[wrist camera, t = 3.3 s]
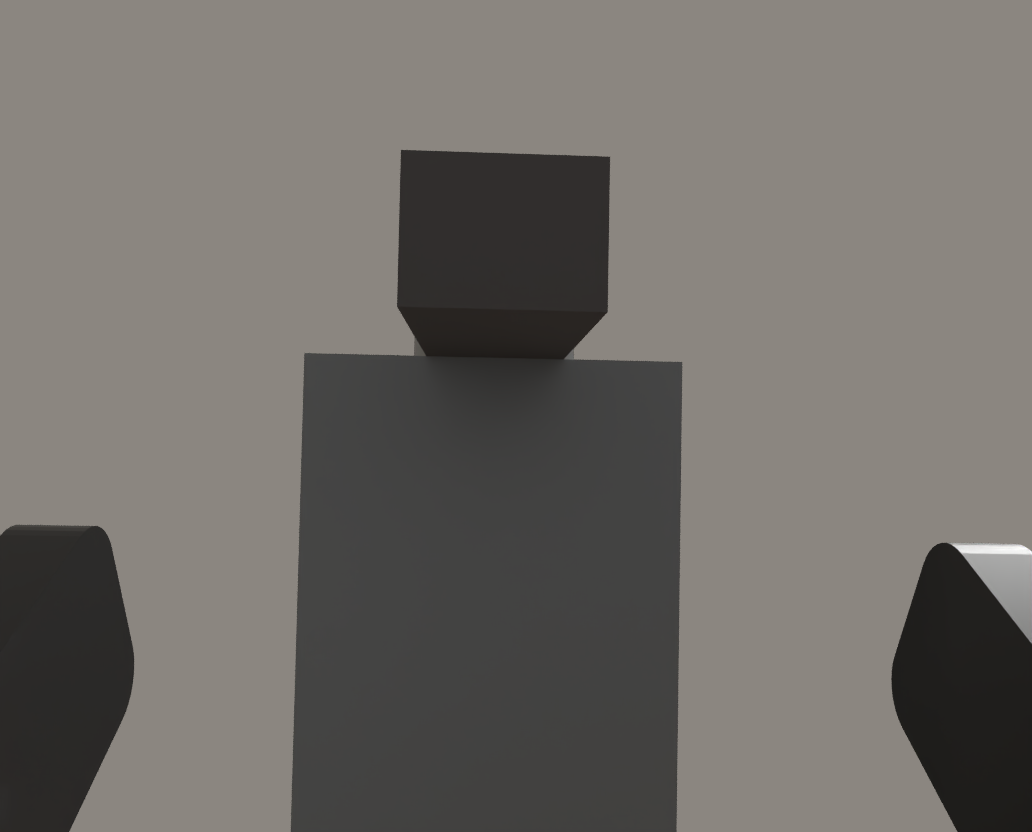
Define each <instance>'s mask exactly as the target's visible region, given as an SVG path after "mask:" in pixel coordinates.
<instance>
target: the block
mask: <svg viewBox="0 0 1032 832" xmlns="http://www.w3.org/2000/svg"><path fill="white" fill-rule="evenodd" d="M400 176H401V177H400V214H399V215H400V216H399V254H398V257H399V258H398V295H397V296H398V297H397V299H398V300H397V307H398V309H399V311H400V312H401V314H402V316H403V317H404V319H405V321H406V322H407V324H408V326H409V327H410V329H411V331H412V333H413V334H414V336H415V347H414V356H442V357H484V358H527V359H569V360H574V348H575V347H576V345H577V344H578V343H579V342H580V341H581V340H582V339H583V338H584V337H585V335H587V334H588V332H589V331H590V330H591V329H592V328H593V327H594V326H595V325H596V324H597V323H598V322H599V321H600V320H601V318H602V317H603V316H604V315H605V314H606V313H607V311H608V310H607V309H608V246H609V185H610V182H609V181H610V157H599V156H570V155H568V156H567V155H539V154H536V155H535V154H508V153H477V152H475V153H474V152H447V151H416V150H401V174H400Z"/></svg>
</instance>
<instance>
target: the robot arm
mask: <svg viewBox="0 0 1032 832" xmlns="http://www.w3.org/2000/svg"><path fill="white" fill-rule="evenodd" d="M133 675H134V653H133V646H132V641H131V636H130V632H129V627H128V623H127V617H126V613H125V608H124V604H123V599H122V594H121V589H120V585H119V580H118V575H117V570H116V565H115V561H114V556H113V551H112V547H111V543H110V540H109V538H108V536H107V534H106V532H105V531H104V530H103V529H102V528H100V527H98V526H51V525H14V526H12V527H10V528H8V529H7V530H5V531H4V532H3V534H2V535H1V536H0V832H69V831H70V829H71V826H72V824H73V822H74V820H75V818H76V816H77V814H78V812H79V809H80V808H81V805H82V803H83V801H84V799H85V797H86V795H87V793H88V791H89V789H90V787H91V784H92V782H93V780H94V778H95V776H96V774H97V772H98V770H99V768H100V765H101V763H102V761H103V759H104V757H105V755H106V753H107V751H108V749H109V747H110V744H111V742H112V740H113V738H114V736H115V734H116V732H117V730H118V728H119V726H120V724H121V721H122V719H123V717H124V714H125V712H126V709H127V706H128V703H129V699H130V695H131V690H132V684H133ZM892 694H893V700H894V705H895V709H896V712H897V716H898V719H899V721H900V723H901V726H902V728H903V730H904V732H905V733H906V735H907V737H908V739H909V741H910V743H911V745H912V747H913V749H914V750H915V752H916V754H917V756H918V758H919V760H920V762H921V764H922V766H923V767H924V769H925V771H926V773H927V775H928V777H929V779H930V781H931V782H932V784H933V786H934V788H935V790H936V792H937V794H938V796H939V798H940V800H941V802H942V803H943V805H944V807H945V809H946V811H947V813H948V815H949V817H950V819H951V820H952V822H953V824H954V826H955V828H956V830H957V831H958V832H1032V552H1031V551H1030V550H1029V549H1027V548H1026V547H1024V546H1022V545H1019V544H980V543H978V544H977V543H940V544H937V545H936V546H934V547H933V548H932V549H931V550H930V552H929V553H928V555H927V557H926V559H925V562H924V565H923V567H922V571H921V574H920V577H919V580H918V583H917V587H916V590H915V593H914V596H913V599H912V603H911V606H910V609H909V612H908V615H907V619H906V622H905V625H904V628H903V631H902V635H901V638H900V641H899V644H898V647H897V651H896V654H895V657H894V661H893V667H892Z"/></svg>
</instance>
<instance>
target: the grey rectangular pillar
mask: <svg viewBox="0 0 1032 832" xmlns="http://www.w3.org/2000/svg"><path fill="white" fill-rule="evenodd" d="M681 409H682V362H654V361H612V360H611V361H610V360H569V359H527V358H484V357H442V356H399V355H397V356H395V355H357V354H355V355H354V354H312V353H305V355H304V389H303V424H302V426H303V427H302V459H301V494H300V529H299V565H298V601H297V634H296V670H295V705H294V739H293V740H294V741H293V775H292V809H291V832H676V818H677V817H676V816H677V814H676V813H677V738H678V736H677V734H678V658H679V656H678V655H679V578H680V573H679V571H680V498H681V416H682V415H681V413H682V410H681Z"/></svg>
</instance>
